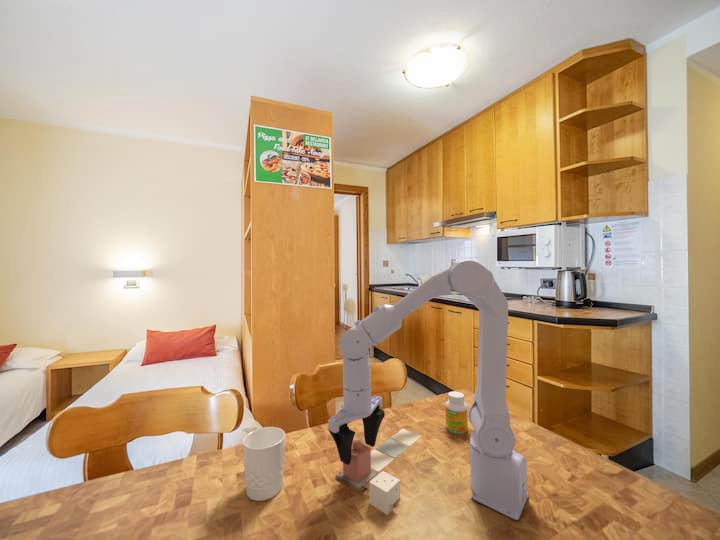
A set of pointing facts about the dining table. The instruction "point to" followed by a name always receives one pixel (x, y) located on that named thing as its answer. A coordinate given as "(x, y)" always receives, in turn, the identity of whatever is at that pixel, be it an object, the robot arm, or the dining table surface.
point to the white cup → (264, 462)
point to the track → (382, 457)
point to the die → (384, 492)
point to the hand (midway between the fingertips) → (358, 453)
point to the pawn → (358, 462)
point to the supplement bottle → (456, 413)
